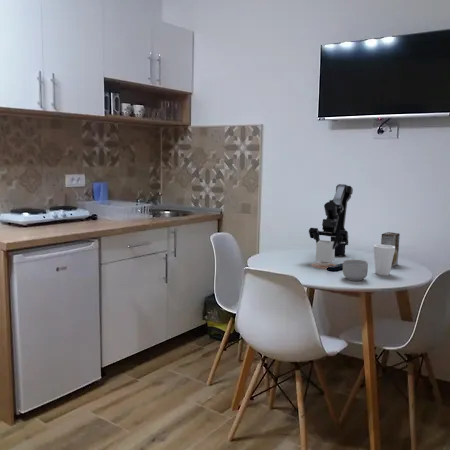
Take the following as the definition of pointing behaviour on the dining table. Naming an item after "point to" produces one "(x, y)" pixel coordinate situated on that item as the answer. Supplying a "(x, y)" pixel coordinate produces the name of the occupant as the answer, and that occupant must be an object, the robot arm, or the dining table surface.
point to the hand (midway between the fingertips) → (325, 248)
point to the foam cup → (383, 258)
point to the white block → (325, 251)
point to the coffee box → (391, 240)
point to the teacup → (355, 269)
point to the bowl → (325, 264)
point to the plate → (318, 265)
